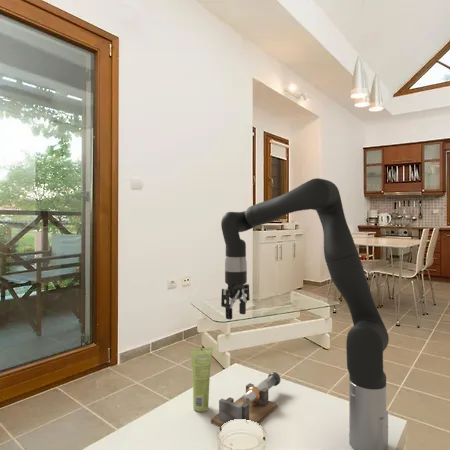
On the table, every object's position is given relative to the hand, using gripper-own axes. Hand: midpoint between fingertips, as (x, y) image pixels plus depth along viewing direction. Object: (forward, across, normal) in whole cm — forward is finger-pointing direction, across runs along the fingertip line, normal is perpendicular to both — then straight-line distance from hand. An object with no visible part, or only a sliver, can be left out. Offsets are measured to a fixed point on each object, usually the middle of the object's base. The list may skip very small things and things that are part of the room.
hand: (236, 316), depth 122 cm
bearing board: (+28, -8, -8) cm, 30 cm away
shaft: (+26, +2, -9) cm, 27 cm away
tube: (+28, -12, +5) cm, 31 cm away
